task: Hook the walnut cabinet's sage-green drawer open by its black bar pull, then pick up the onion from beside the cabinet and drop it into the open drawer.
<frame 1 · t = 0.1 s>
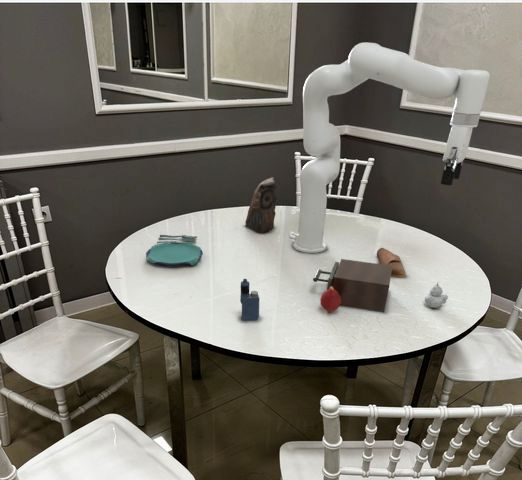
hand: (449, 181, 144), 31 cm above the table, tool pointing down, fingers open, 9 cm apart
grey lumpy piece: (434, 307, 142), on the table
sunglasses case: (390, 267, 167), on the table
onion: (329, 312, 137), on the table
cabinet: (359, 297, 145), on the table
owl: (260, 228, 198), on the table
cutlery set: (176, 253, 172), on the table
vaping device: (249, 319, 132), on the table
drawer: (346, 282, 144), point 4 cm above the table, slide at 0.5 cm
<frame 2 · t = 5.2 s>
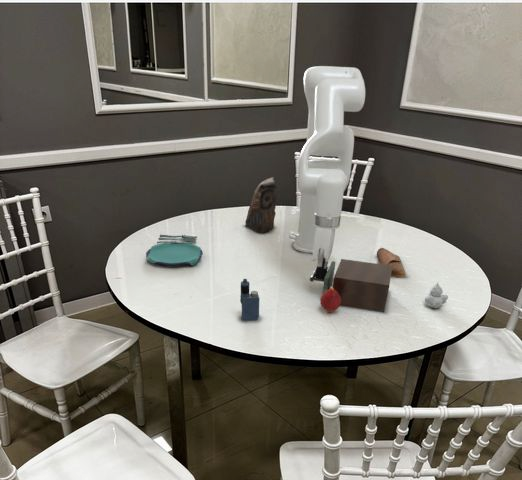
hand: (320, 279, 146), 4 cm above the table, tool pointing down, fingers closed
drawer: (342, 281, 144), point 4 cm above the table, slide at 1.6 cm, touching gripper
everything else where it was.
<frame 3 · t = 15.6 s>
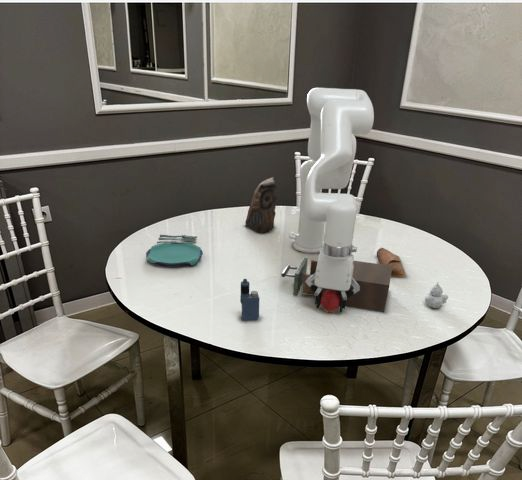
hand: (329, 307, 136), 1 cm above the table, tool pointing down, fingers closed on onion, 6 cm apart
onion: (329, 312, 137), on the table, touching gripper
drawer: (314, 277, 146), point 4 cm above the table, slide at 10.5 cm
everything else where it was.
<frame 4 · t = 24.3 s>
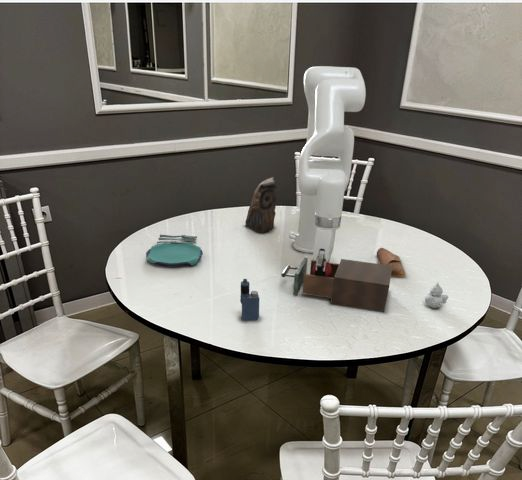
hand: (321, 277, 146), 5 cm above the table, tool pointing down, fingers closed on onion, 6 cm apart
onion: (320, 282, 147), point 3 cm above the table, touching gripper
drawer: (314, 277, 146), point 4 cm above the table, slide at 10.5 cm, touching gripper
everything else where it was.
when the fingers open (7 cm above the table, at t = 40.5 s): onion drops 3 cm, resting on drawer.
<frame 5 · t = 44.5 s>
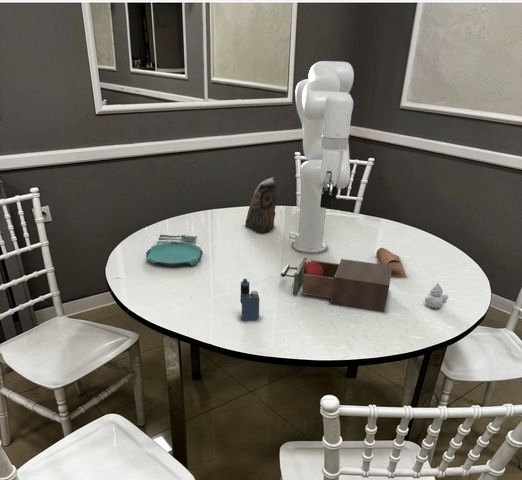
hand: (328, 203, 145), 24 cm above the table, tool pointing down, fingers open, 9 cm apart
onion: (320, 283, 147), point 3 cm above the table, touching drawer
drawer: (313, 277, 146), point 4 cm above the table, slide at 10.6 cm, touching onion
everything else where it was.
at the end: drawer slide at 10.6 cm; onion inside the target area in the drawer (0.4 cm from its centre), point 2.8 cm above the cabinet's base; the gripper is holding nothing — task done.
